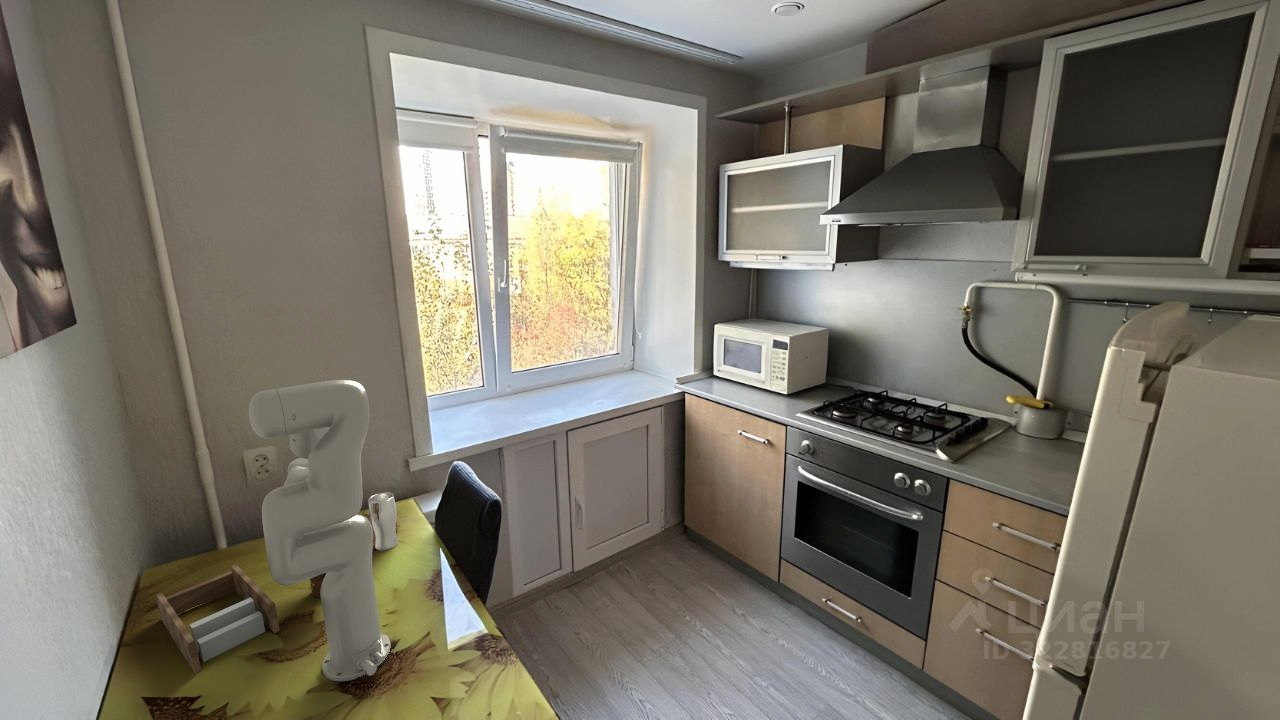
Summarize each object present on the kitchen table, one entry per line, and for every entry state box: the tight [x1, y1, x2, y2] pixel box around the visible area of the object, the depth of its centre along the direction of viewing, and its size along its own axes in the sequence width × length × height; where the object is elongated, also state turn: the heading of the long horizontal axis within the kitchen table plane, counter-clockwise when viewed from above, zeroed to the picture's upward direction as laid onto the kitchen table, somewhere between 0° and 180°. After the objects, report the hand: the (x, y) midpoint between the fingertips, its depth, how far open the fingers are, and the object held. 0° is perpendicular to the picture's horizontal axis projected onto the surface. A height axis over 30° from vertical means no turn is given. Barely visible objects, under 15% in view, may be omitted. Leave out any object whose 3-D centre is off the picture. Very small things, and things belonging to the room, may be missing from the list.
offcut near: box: [189, 597, 256, 653], centre depth 114 cm, size 2×11×6 cm, turn 143°
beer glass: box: [367, 491, 399, 552], centre depth 149 cm, size 7×7×15 cm
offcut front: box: [197, 611, 266, 662], centre depth 112 cm, size 2×11×4 cm, turn 143°
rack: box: [155, 563, 280, 674], centre depth 118 cm, size 27×15×7 cm, turn 53°
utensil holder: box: [309, 574, 324, 598], centre depth 129 cm, size 6×6×12 cm
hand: (322, 569), depth 129 cm, fingers open, 9 cm apart
